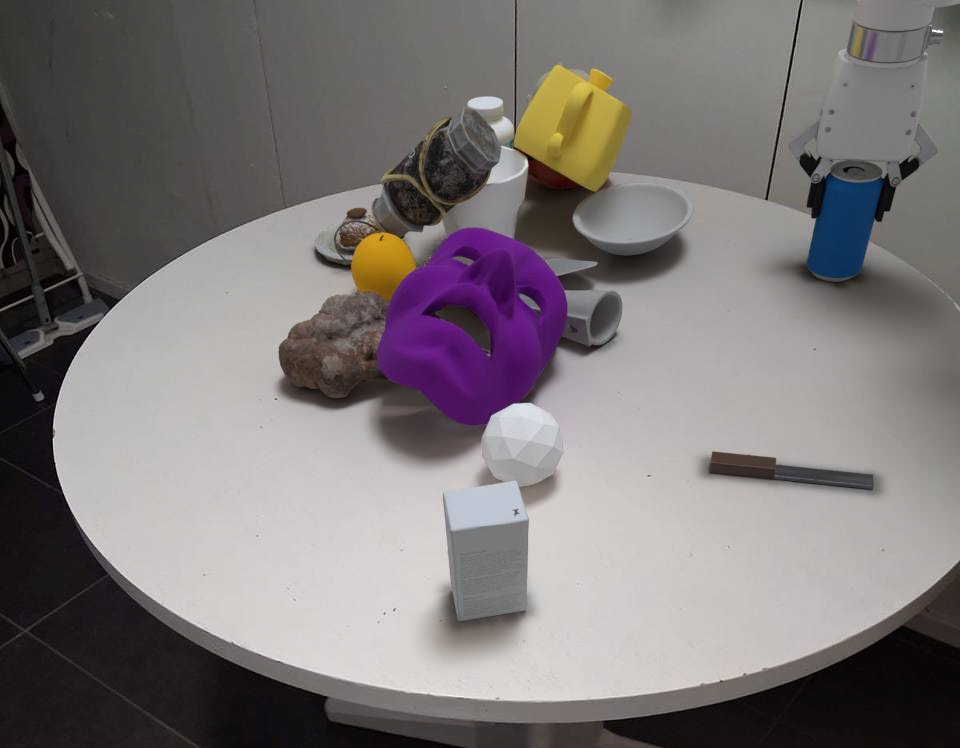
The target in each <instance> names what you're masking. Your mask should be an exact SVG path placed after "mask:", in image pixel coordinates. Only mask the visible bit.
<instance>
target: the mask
mask: <svg viewBox="0 0 960 748" xmlns="http://www.w3.org/2000/svg"><path fill="white" fill-rule="evenodd" d="M457 256H461V257H465V258H468V259H471V260H473V261H474V263H472V264H471V265H470V266H469V265H467V264H464V263H462V262H460V261H458V260H456V259H452V258H454V257H457ZM544 260H545V259H543V258H542V257H541V256H540V255H539V254H538V253H537V252H536V251H535V250H534V249H533V248H531V247H530V246H529V245H527V244H526V243H524V242H521V241H520V240H517V239H515V238H514V239H512V238H510V237H507V236H505V235H502V234H499V233H496V232H493V231H490V230H488V229H483V228H464V229H460V230H458V231H455V232H454V233H452V234H451V235H449V236H448V237H447V236H446V237H445V239H444V240H443V241H442V242H441V243H440V244H439V246H438V247H437V248H436V250H435V251H434V252H433V254H432V255H431V257H430V258H429V260H428V261H427V263H426V264H425V265H424V266H421V267H418V268H416V270H414V271H412V272H411V273H410V274H408V275H407V276H406V277H405V278H404V279H403V280H402V281H401V283H400V284H399V286H398V287H397V289H396V290H395V292H394V293H393V295H392V298H391V300H390V302H389V307H388V311H387V316H386V321H385V330H384V333H383V335H382V337H381V340H380V343H379V346H378V349H377V362H378V366H379V368H380V370H381V371H382V373H383V374H384V375H385V376H386V377H387V378H388V379H389V381H391V382H392V383H395V384H398V385H401V386H404V387H407V388H410V389H414V390H416V391H419V392H420V393H422V394H423V395H424V396H425V397H426V398H427V400H428V401H430V403H432V405H434V406H435V407H436V409H437V410H438V411H440V413H441V414H443V415H444V416H445V417H446V418H447V419H449V420H451V421H454V422H457V423H458V424H462V425H465V426H470V427H472V426H474V427H477V426H487V425H488V422H489V420H490V418H491V416H492V415H494V414H495V413H497V412H499V411H501V410H503V409H505V408H507V407H508V406H510V405H512V404H517V403H522V401H523V400H524V398H525V396H527V395H528V394H529V392H530V391H531V390H532V388H533V386H534V384H535V382H536V381H537V380H538V379H539V377H540V376H541V374H542V373H543V371H544V370H545V369H546V367H547V365H548V364H549V362H550V361H551V358H552V357H553V355H554V353H555V351H556V349H557V348H558V345H559V343H560V341H561V339H562V337H563V336H562V333H563V330H564V328H565V324H566V320H567V311H568V303H567V299H566V294H565V292H564V290H565V289H564V286H563V284H562V283H561V281H560V278H559V276H556V275H555V273H554V272H553V271H552V269H551V268H550V267H549V266H548V265H547V263H546V262H545V261H544ZM518 293H521V294H523V295H525V296H527V297H529V298H530V299H532V300H533V301H534V302H535V303H536V304H537V305H538V307H539V308H540V310H541V317H540V316H539V315H538V314H537V313H536V312H535V311H534V310H533V309H532V308H530V307H529V306H528V305H527V304H526V303H525V302H524V301H523V300H522V299H521V298H520V296H519V294H518ZM451 306H456V307H461V308H466V309H468V311H471V312H472V313H474V314H475V315H477V316H478V317H479V319H480V320H481V322H482V323H483V324H484V326H485V327H486V329H487V331H488V334H489V346H490V350H491V354H490V358H489V357H488V355H487V354H486V353H485V352H484V351H483V350H482V349H481V348H482V347H481V346H480V345H479V344H478V343H477V342H476V341H475V340H474V339H473V338H472V337H471V335H469V334H468V333H467V332H466V331H465V330H464V329H462V327H460V326H458V325H457V324H454V323H452V322H450V321H447V320H444V319H442V318H441V319H438V318H434V317H431V316H430V315H431V314H433V313H435V314H436V312H439V311H440V310H442V309H445V308H446V307H451Z"/></svg>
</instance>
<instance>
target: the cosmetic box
mask: <svg viewBox="0 0 960 748" xmlns="http://www.w3.org/2000/svg"><path fill="white" fill-rule="evenodd" d="M442 503H443V504H442V505H443V514H444V525H445V535H446V545H447V554H448V555H447V556H448V568H449V577H450V578H449V579H450V581H449V582H450V587H451V591H452V597H453V602H454V607H455V613H456V618H457V621H458V622H465V621H470V620H471V621H472V620H477V619H483V618H490V617H494V616H500V615H507V614H512V613H519V612H526V611H527V603H528V602H527V601H528V571H529V570H528V568H529V565H528V564H529V526H530V518H529V515H528V511H527V509H526V505H525V502H524V499H523V496H522V492H521V489H520V487H519V485H518V482H517V481H510V482H499V483H492V484H485V485H480V486H473V487H467V488H460V489H455V490H448V491H443V492H442Z"/></svg>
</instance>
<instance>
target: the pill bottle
mask: <svg viewBox="0 0 960 748" xmlns="http://www.w3.org/2000/svg"><path fill="white" fill-rule="evenodd" d="M466 108H470V109H475V110H476V111H477V112H478V113H479V114H480V115H481V116H482V117H483V118H484V120H485V121H486V122H487V123H488V124H489V125H490V126H491V127H492V128H493V129H494V131H495V133H496V136H497V138H498V140H499V143H500V145H501V146H504V147H508V148H511V149H514V150H515V148H514V139H515V128H514V125H513V123H512V122H511V120H510V119H509V118H508V117H506V116H503V115H504V112H505V111H504V101H503V99H501V98H500V97H497V96H477V97H474V98H472V99H469V100H468V102H467V104H466Z"/></svg>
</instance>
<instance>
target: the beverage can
mask: <svg viewBox="0 0 960 748" xmlns="http://www.w3.org/2000/svg"><path fill="white" fill-rule="evenodd" d="M882 175H883V169H882V168H881V166H879V165H878V164H875V163H873V162H871V161H851V160H840V161H838V162H836V163H834V164H832V165H831V166H830V168H829V172H828V173H827V174H826V175H825V186H824V191H823V196H822V200H821V205H820V210H819V214H818V218H817V217H816V219H815V222H814V226H813V231H812V235H811V239H810V240H811V241H810V245H809V250H808V254H807V259H806V268H807V269H808V270H809V271H810V272H811V273H812V275H813V276H814V277H816V278H817V279H820V280H822V281H826V282H835V283H837V282H844V281H848V280H850V279H852V278H854V277H855V276H857V275H859V273H861V271H862V269H863V265H864V262H865V257H866V254H867V250H868V246H869V242H870V239H871V234H872V231H873V227H874V224H875V223H874V222H875V215H876V211H877V207H878V204H879V200H880V196H881V192H882V188H883V177H882Z"/></svg>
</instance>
